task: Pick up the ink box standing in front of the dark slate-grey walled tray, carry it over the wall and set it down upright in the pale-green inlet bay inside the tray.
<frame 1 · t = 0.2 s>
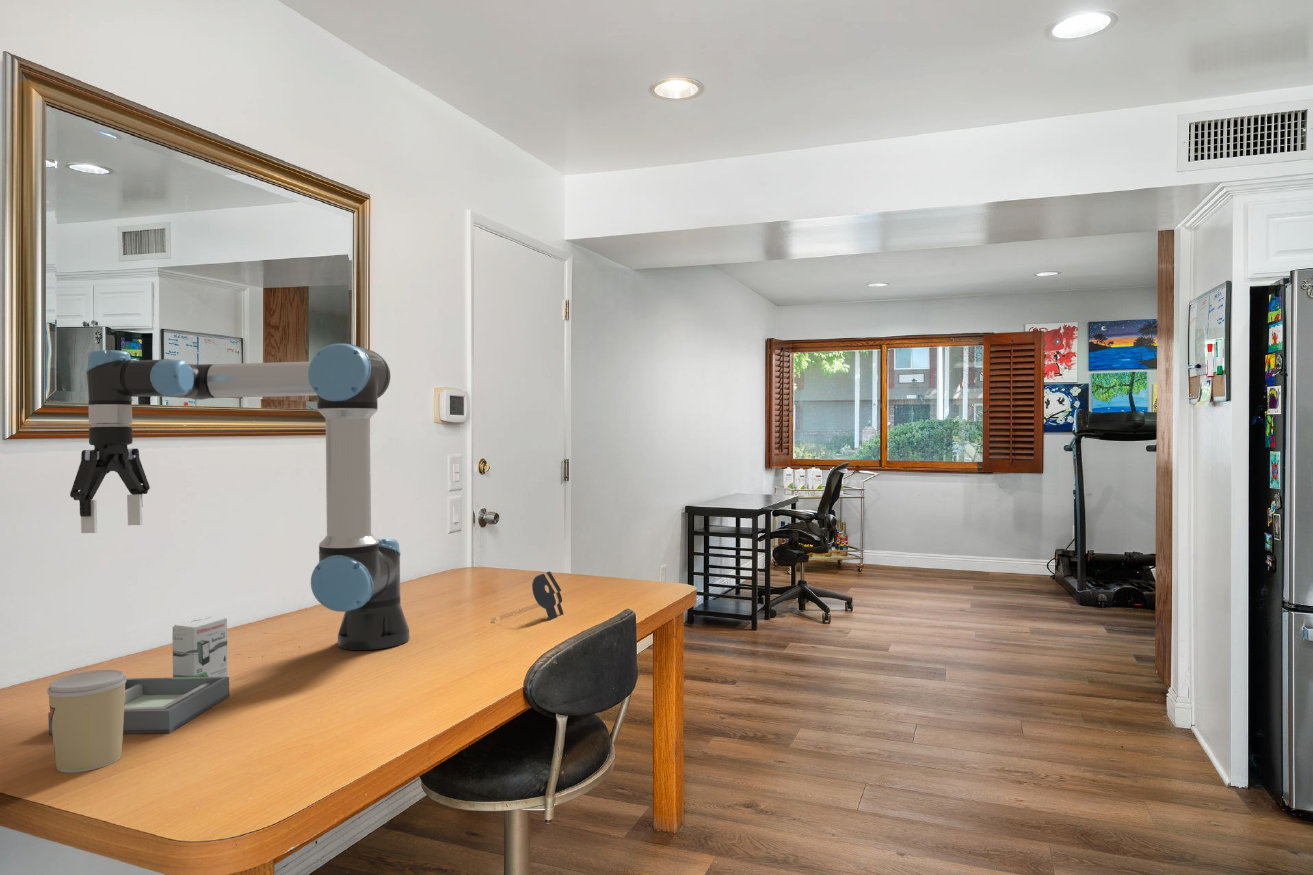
hand: (113, 528, 171), 28 cm above the table, fingers open, 13 cm apart
walled tray: (145, 714, 139), on the table
coffee cup: (89, 763, 119), on the table
ink box: (201, 684, 156), on the table
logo: (539, 619, 205), on the table
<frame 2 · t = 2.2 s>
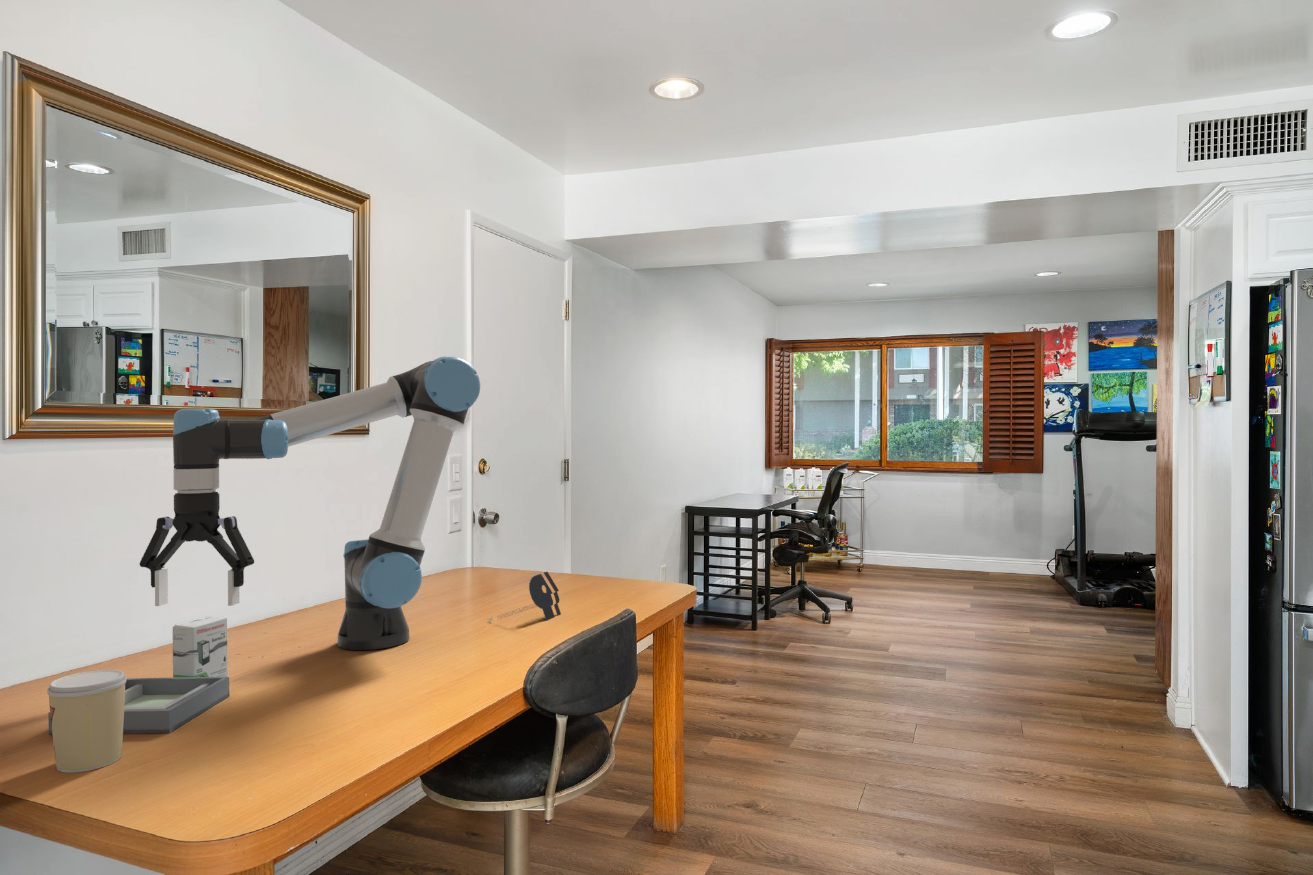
hand: (197, 604, 155), 15 cm above the table, fingers open, 13 cm apart
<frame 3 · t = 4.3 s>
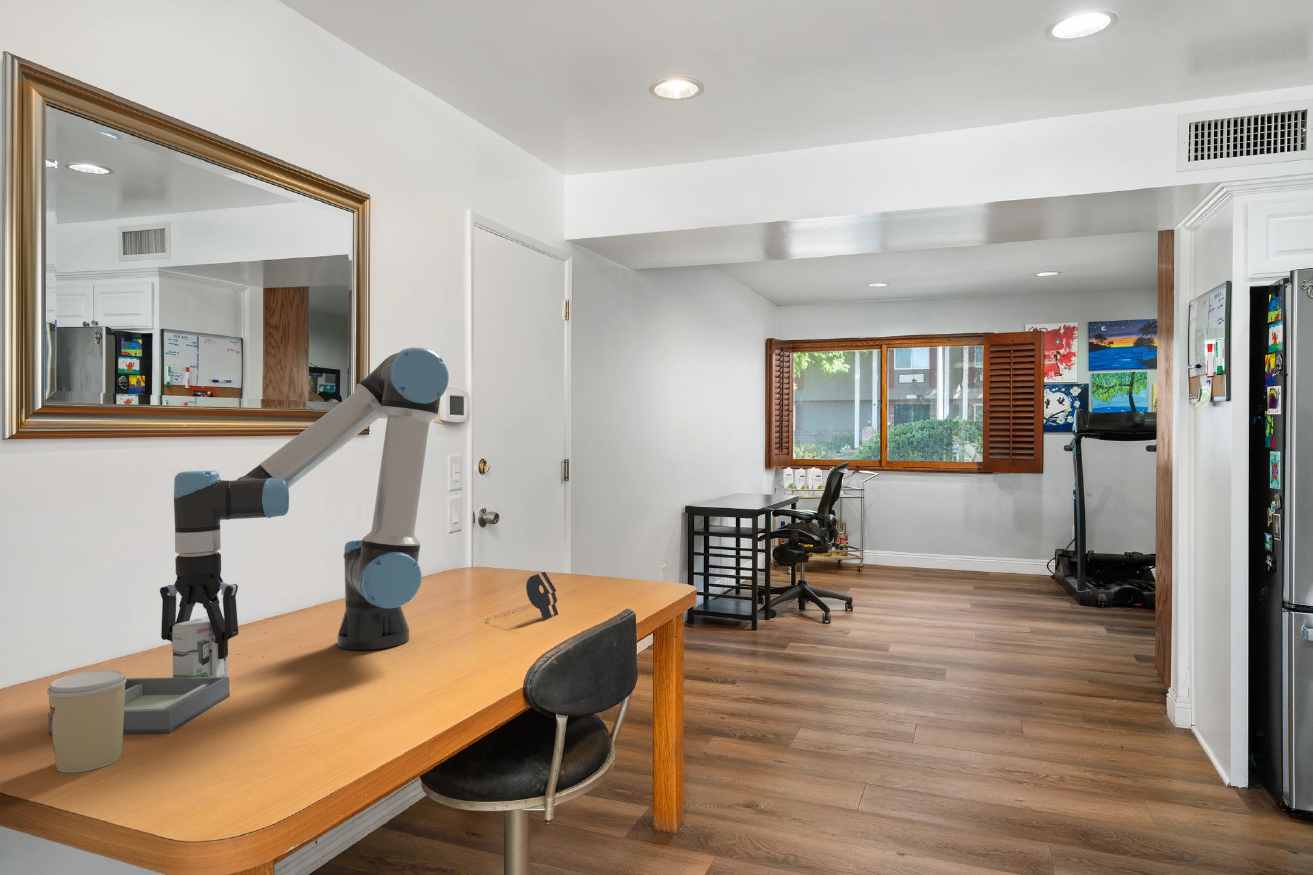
hand: (201, 675, 156), 1 cm above the table, fingers closed on ink box, 6 cm apart
ink box: (201, 684, 156), on the table, touching gripper
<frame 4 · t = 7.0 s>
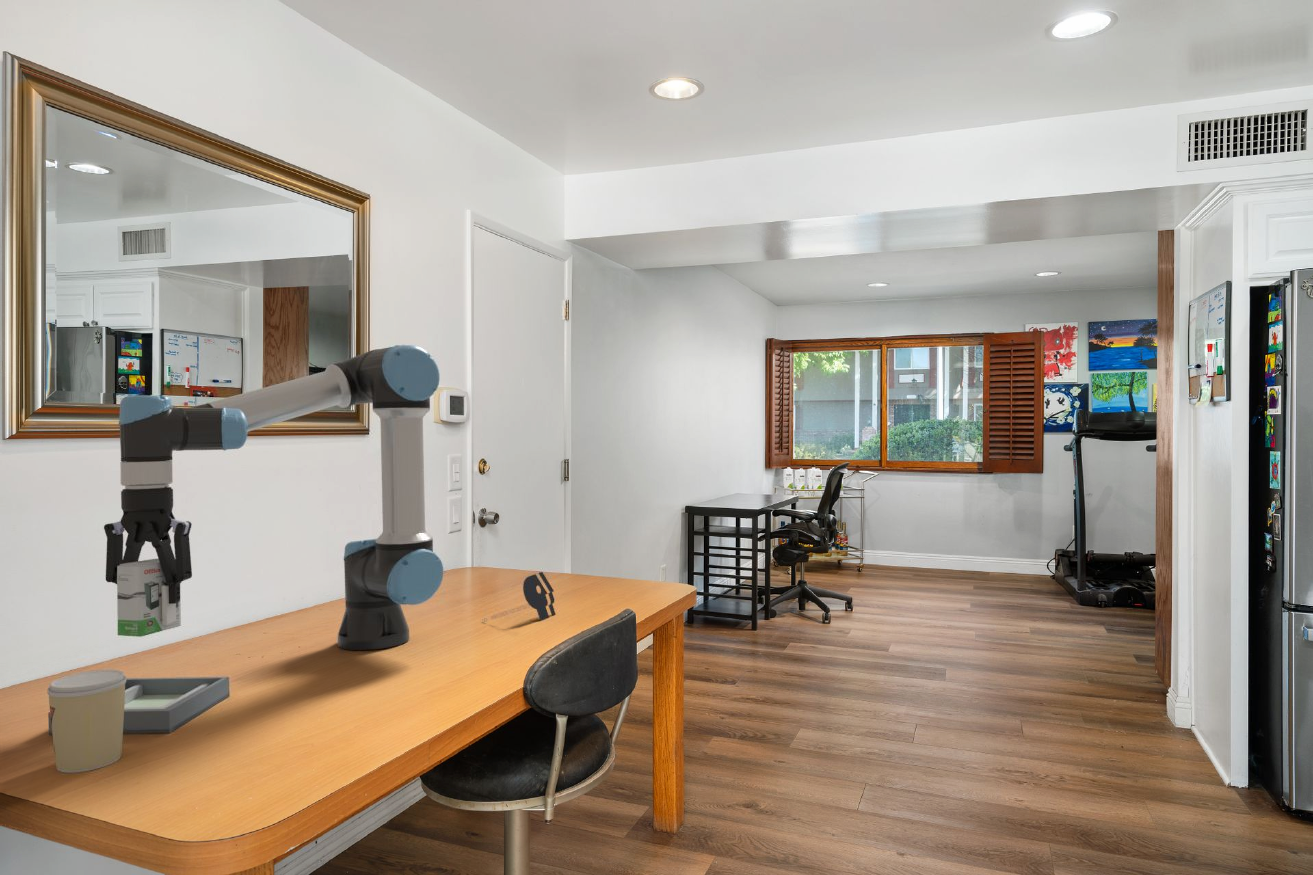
hand: (150, 622, 141), 15 cm above the table, fingers closed on ink box, 6 cm apart
ink box: (150, 632, 141), point 13 cm above the table, touching gripper
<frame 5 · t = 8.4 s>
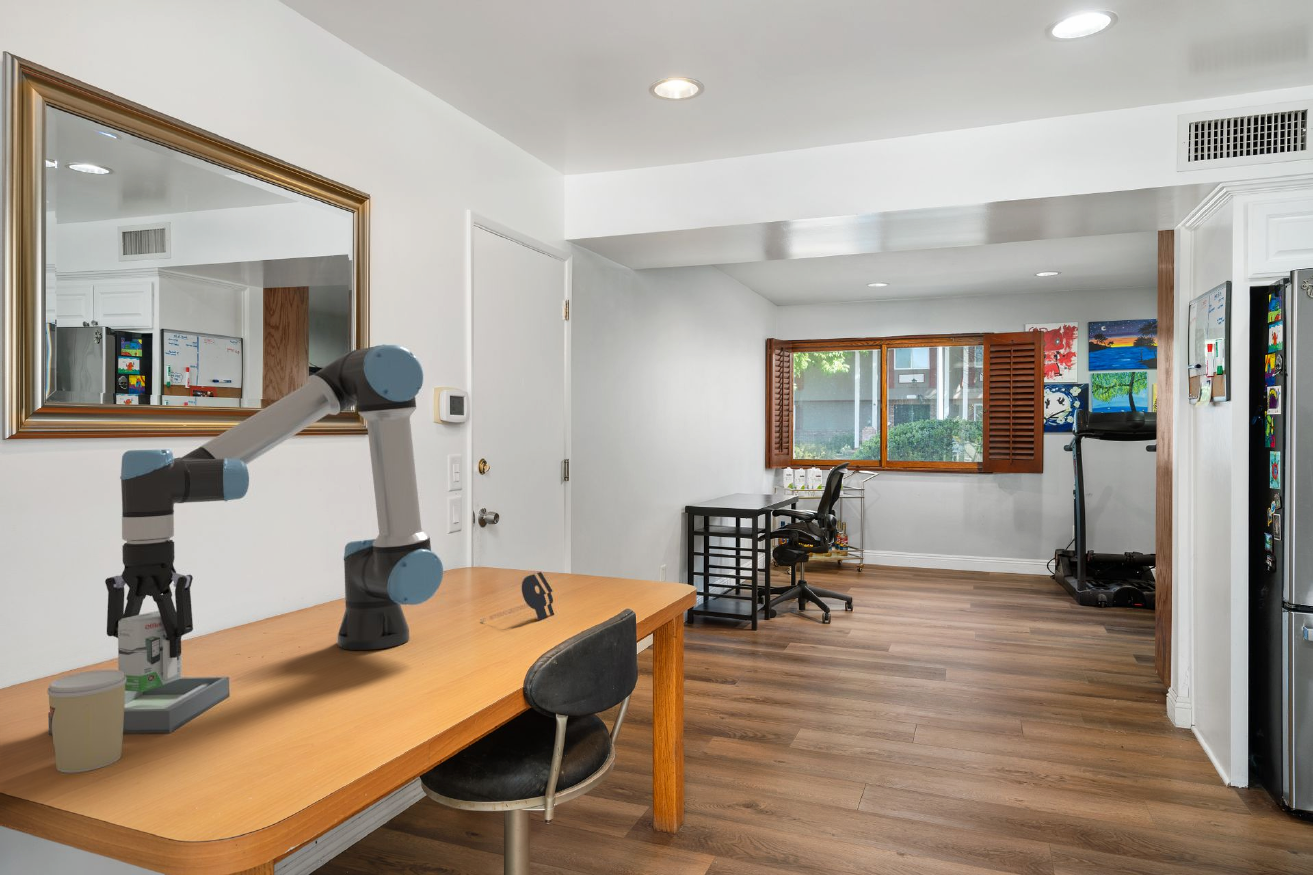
hand: (151, 676, 141), 6 cm above the table, fingers closed on ink box, 6 cm apart
ink box: (150, 685, 141), point 4 cm above the table, touching gripper
when the fingers open (4 cm above the table, at t = 9.6 s): ink box drops 2 cm, resting on walled tray.
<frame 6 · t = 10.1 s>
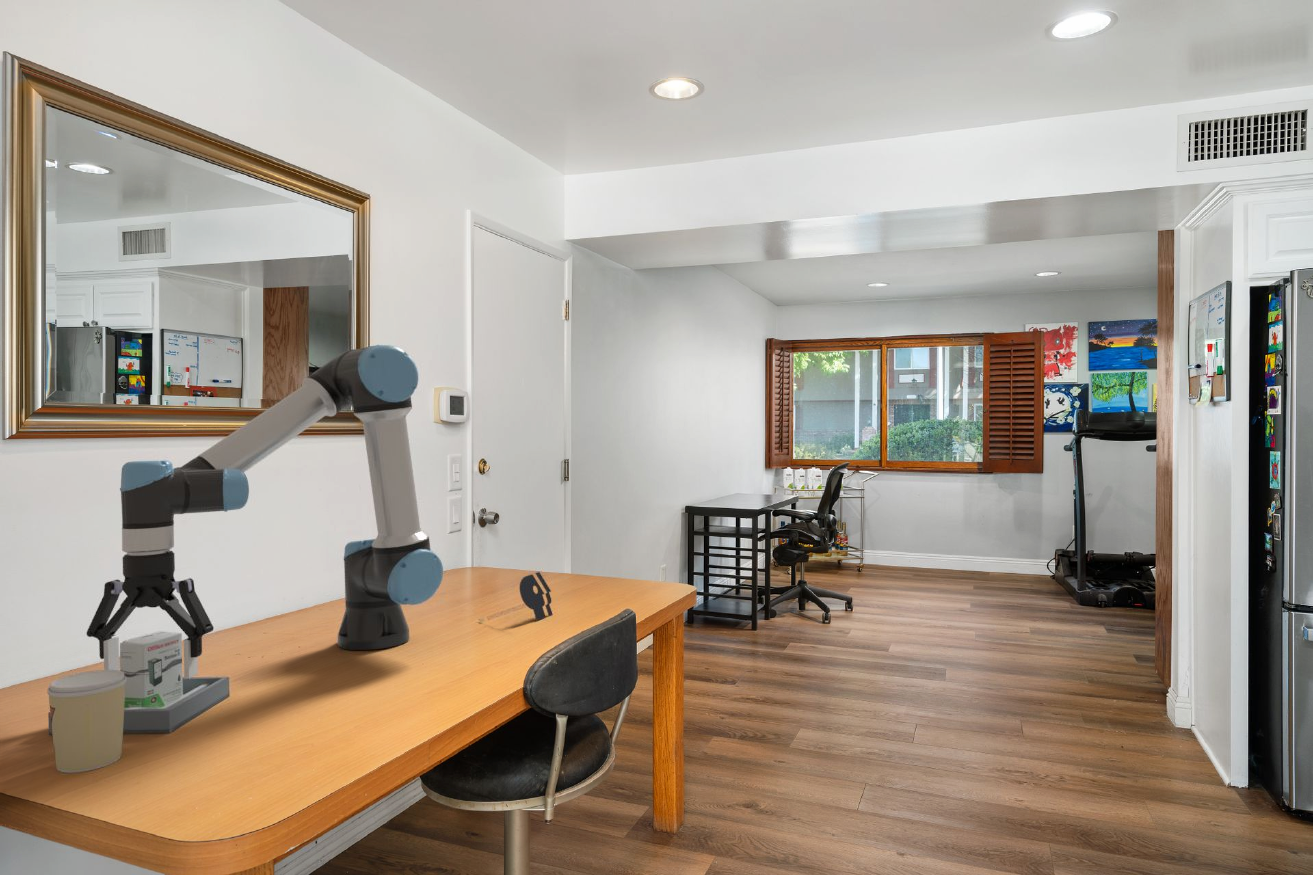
hand: (151, 677, 141), 6 cm above the table, fingers open, 13 cm apart
ink box: (152, 707, 141), point 1 cm above the table, touching walled tray
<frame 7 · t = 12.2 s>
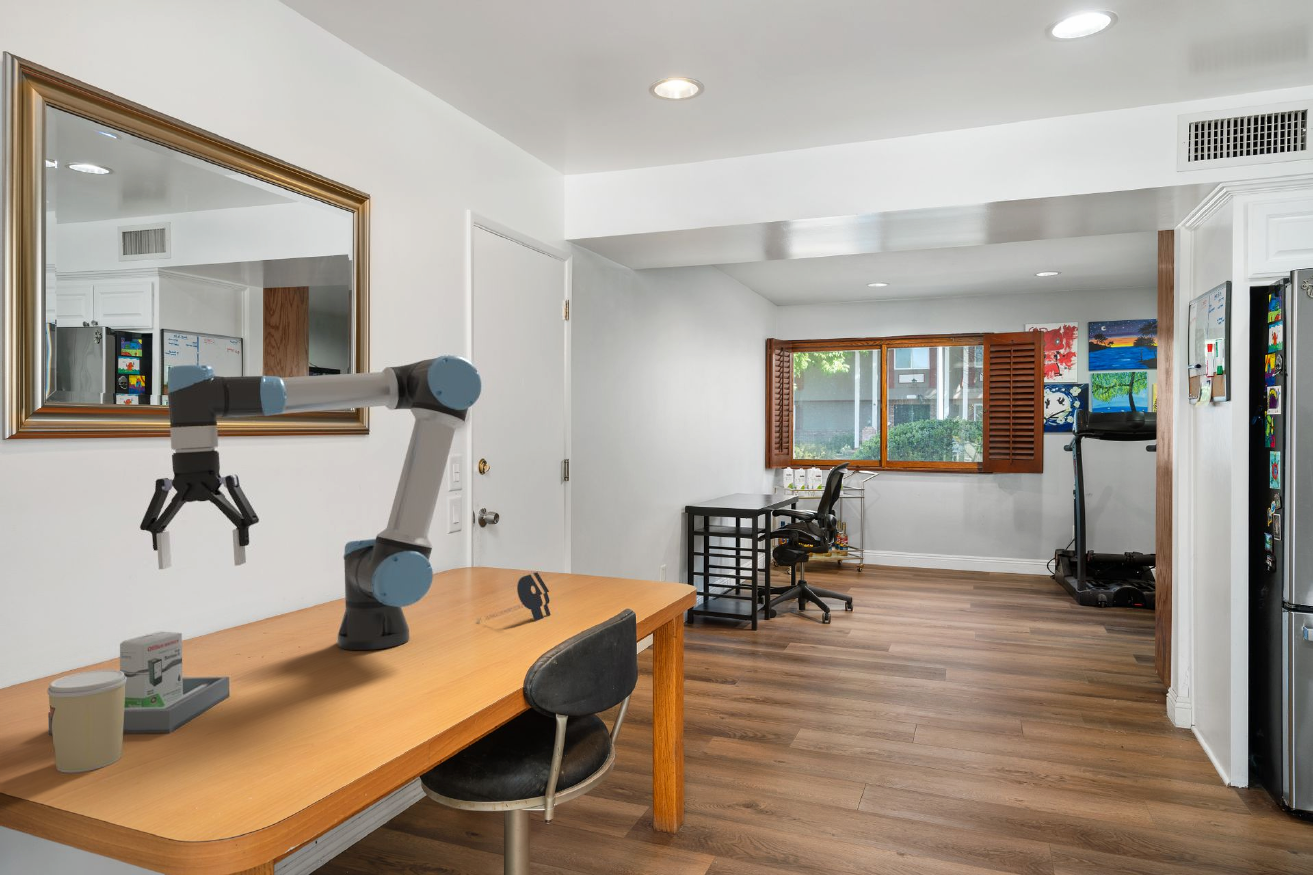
hand: (202, 566, 152), 23 cm above the table, fingers open, 13 cm apart
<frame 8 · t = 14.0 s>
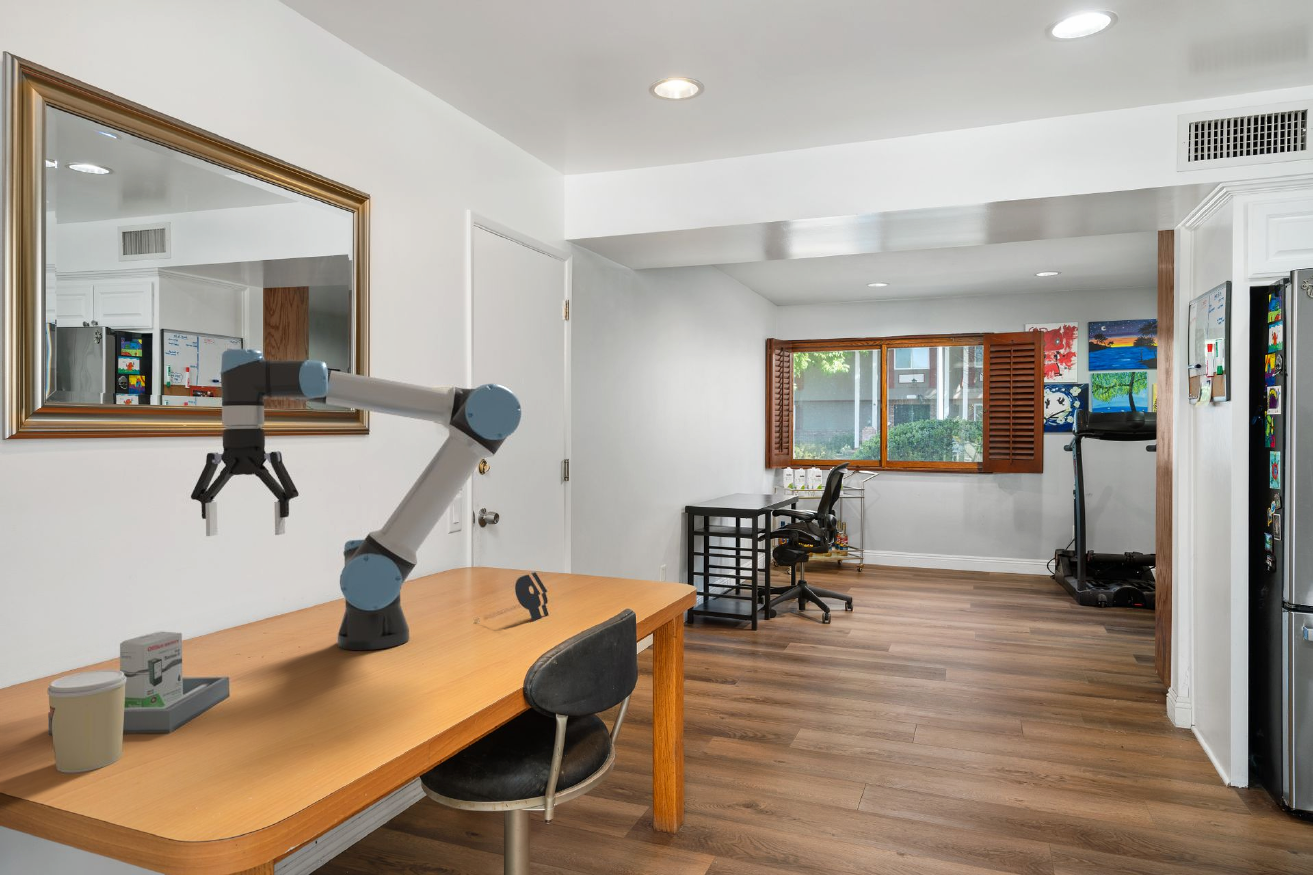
hand: (246, 535, 165), 27 cm above the table, fingers open, 13 cm apart
at the end: ink box inside the target area (0.2 cm from its centre), point 0.5 cm above the table; ink box tilted 0°; the gripper is holding nothing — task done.
